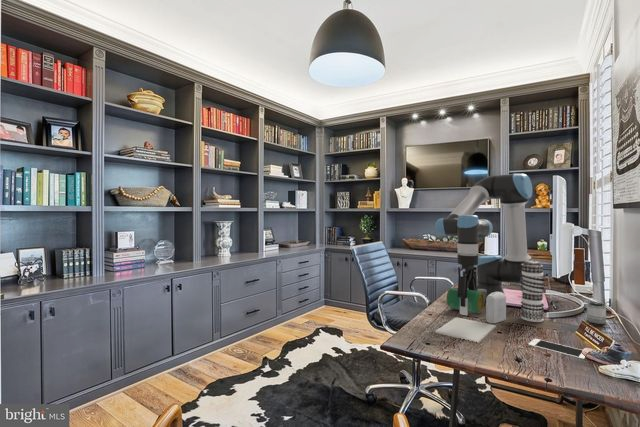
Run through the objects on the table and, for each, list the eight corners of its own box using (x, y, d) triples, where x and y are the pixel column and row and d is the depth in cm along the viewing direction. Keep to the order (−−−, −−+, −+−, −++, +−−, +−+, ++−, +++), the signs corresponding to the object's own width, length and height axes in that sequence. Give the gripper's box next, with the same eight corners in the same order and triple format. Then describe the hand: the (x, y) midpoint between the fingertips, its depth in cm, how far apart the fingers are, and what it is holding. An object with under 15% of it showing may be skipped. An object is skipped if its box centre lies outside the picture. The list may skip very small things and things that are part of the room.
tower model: (545, 323, 144) (546, 263, 143) (520, 320, 148) (520, 262, 148) (544, 317, 152) (544, 260, 151) (519, 314, 156) (519, 259, 156)
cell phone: (534, 339, 128) (534, 338, 128) (589, 353, 116) (589, 351, 116) (527, 345, 122) (527, 344, 122) (583, 360, 111) (583, 358, 111)
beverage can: (455, 297, 145) (485, 302, 137) (448, 311, 140) (480, 317, 132) (451, 283, 142) (482, 287, 134) (444, 296, 137) (476, 301, 129)
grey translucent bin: (484, 309, 165) (484, 286, 165) (489, 315, 156) (489, 291, 156) (448, 307, 168) (448, 285, 168) (451, 313, 159) (451, 290, 159)
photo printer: (497, 317, 152) (497, 289, 152) (507, 320, 149) (507, 291, 149) (484, 321, 147) (484, 292, 147) (494, 324, 143) (494, 295, 143)
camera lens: (608, 322, 145) (609, 304, 144) (601, 325, 142) (601, 306, 141) (591, 318, 150) (591, 300, 150) (583, 320, 147) (583, 302, 147)
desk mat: (456, 318, 151) (456, 317, 151) (495, 326, 141) (495, 325, 141) (434, 332, 135) (434, 331, 135) (478, 343, 124) (478, 341, 124)
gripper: (467, 250, 146) (467, 304, 146) (447, 256, 131) (447, 316, 131) (486, 252, 141) (486, 307, 141) (468, 258, 126) (468, 320, 126)
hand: (467, 311), depth 136 cm, fingers closed on beverage can, 8 cm apart
